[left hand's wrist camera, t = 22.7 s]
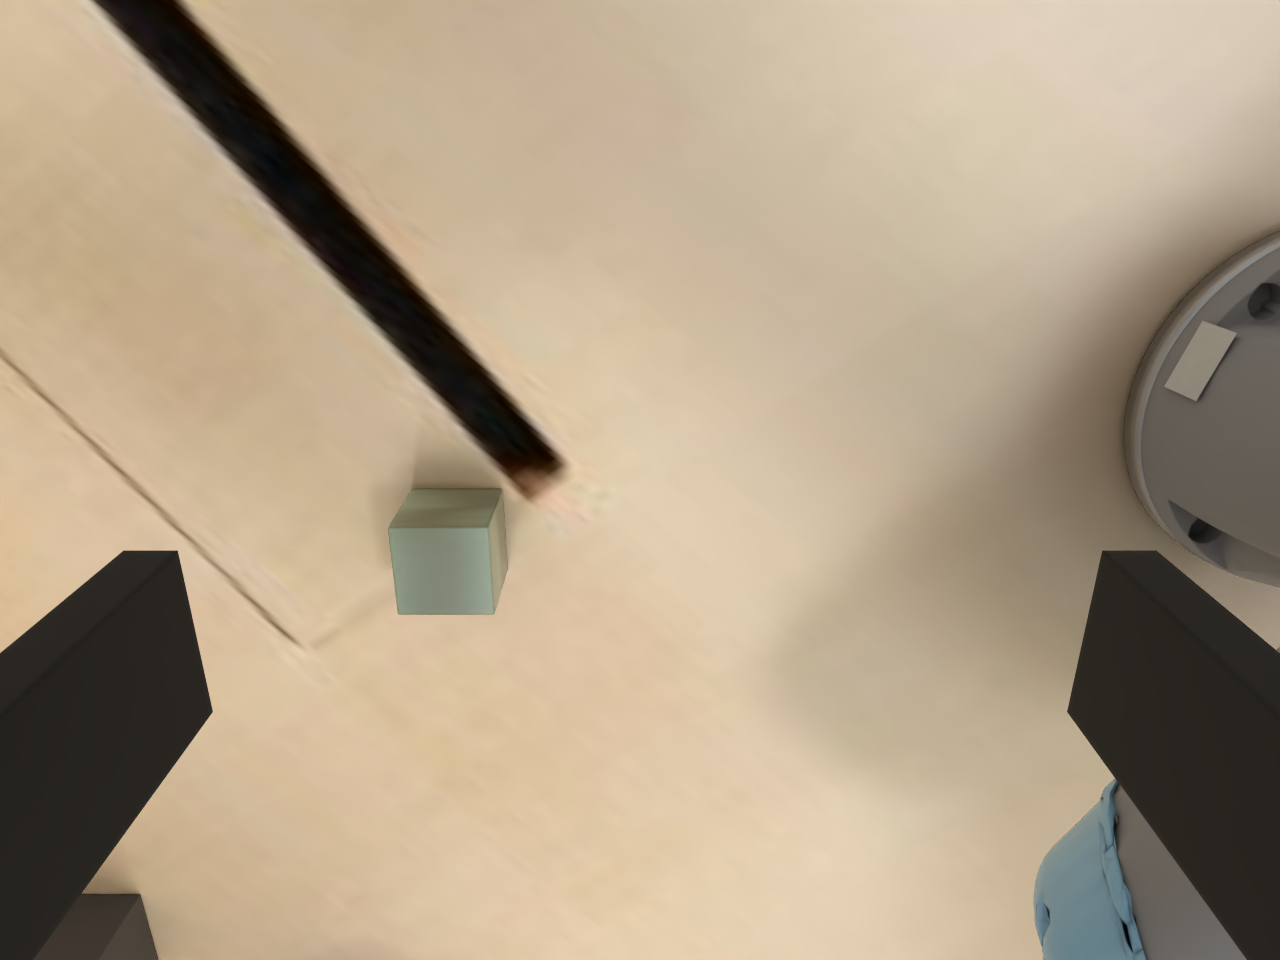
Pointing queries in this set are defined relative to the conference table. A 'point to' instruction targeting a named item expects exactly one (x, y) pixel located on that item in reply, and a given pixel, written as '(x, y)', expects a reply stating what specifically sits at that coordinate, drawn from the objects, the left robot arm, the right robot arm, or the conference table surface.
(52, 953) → the beam
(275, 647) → the conference table surface
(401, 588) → the sage block
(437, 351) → the conference table surface
